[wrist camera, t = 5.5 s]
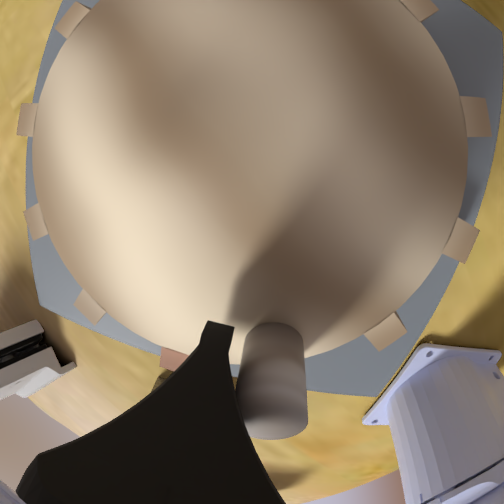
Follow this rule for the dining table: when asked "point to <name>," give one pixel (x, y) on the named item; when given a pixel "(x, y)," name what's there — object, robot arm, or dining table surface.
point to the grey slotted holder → (27, 361)
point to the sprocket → (252, 176)
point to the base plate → (420, 302)
